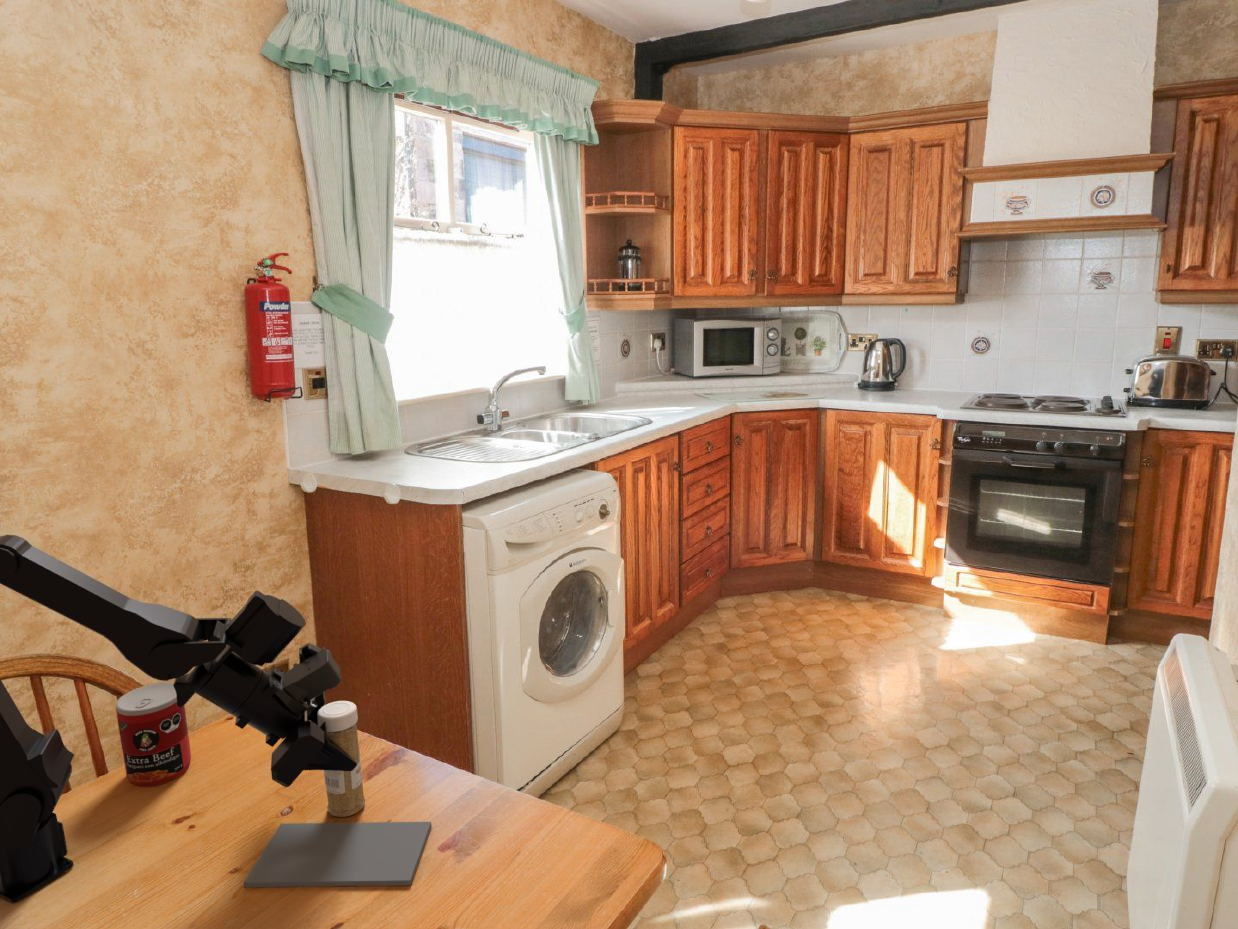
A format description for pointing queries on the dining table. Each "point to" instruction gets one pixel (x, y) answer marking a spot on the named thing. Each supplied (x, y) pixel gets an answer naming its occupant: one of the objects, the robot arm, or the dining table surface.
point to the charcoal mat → (341, 855)
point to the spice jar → (343, 732)
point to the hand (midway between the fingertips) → (353, 757)
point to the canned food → (153, 735)
